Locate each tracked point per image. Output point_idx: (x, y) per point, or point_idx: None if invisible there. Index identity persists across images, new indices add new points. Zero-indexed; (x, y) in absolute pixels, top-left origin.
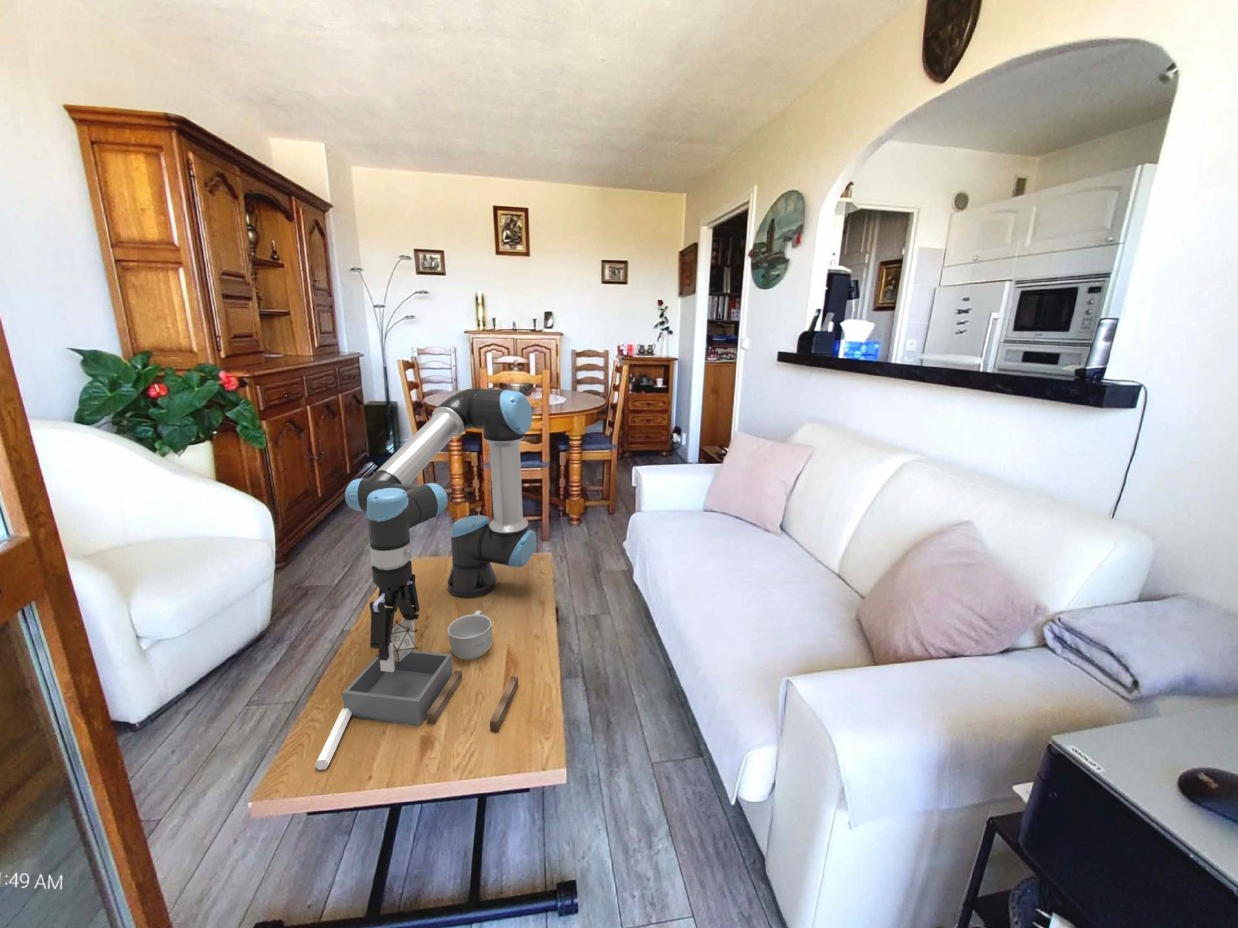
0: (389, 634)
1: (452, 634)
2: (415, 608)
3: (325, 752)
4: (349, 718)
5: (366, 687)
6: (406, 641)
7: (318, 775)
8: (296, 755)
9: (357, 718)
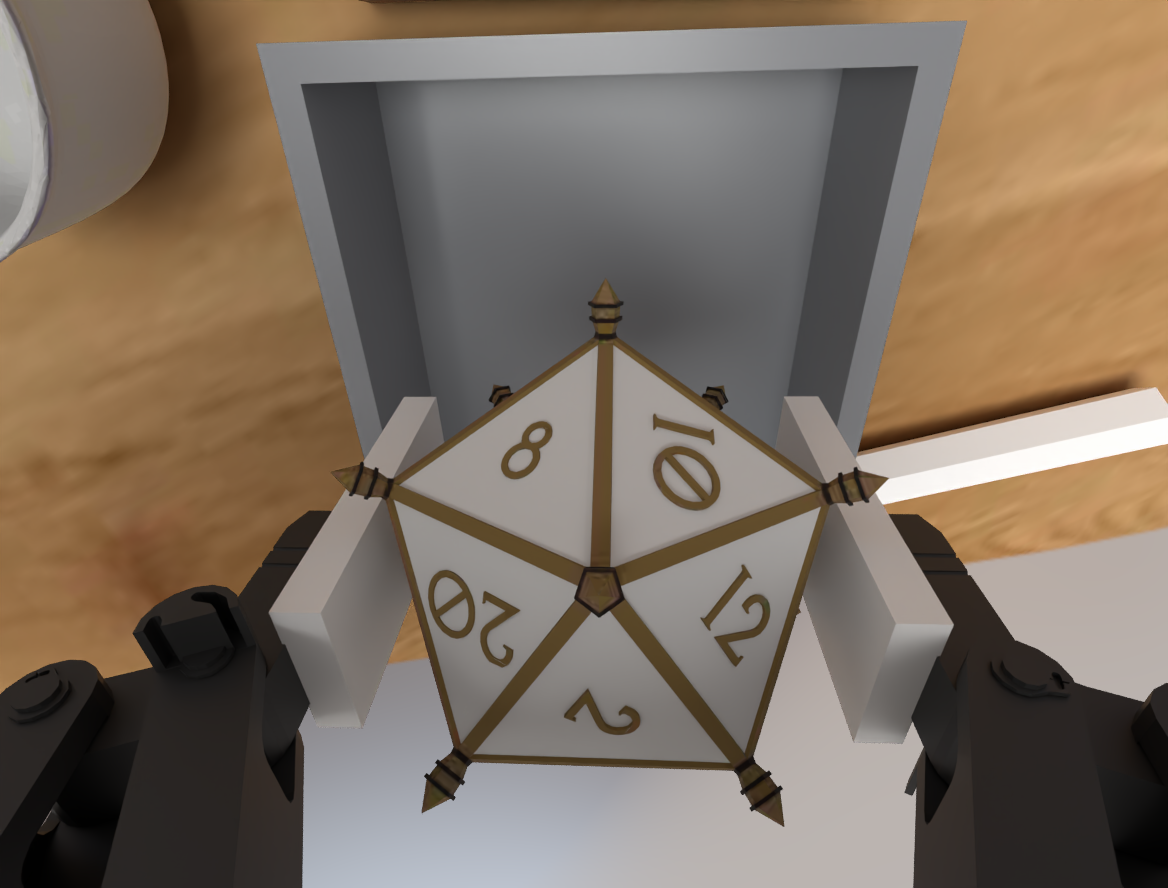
0: (1058, 821)
1: (2, 228)
2: (64, 759)
3: (1119, 437)
4: None
5: None
6: (687, 477)
7: None
8: (1003, 534)
9: None
